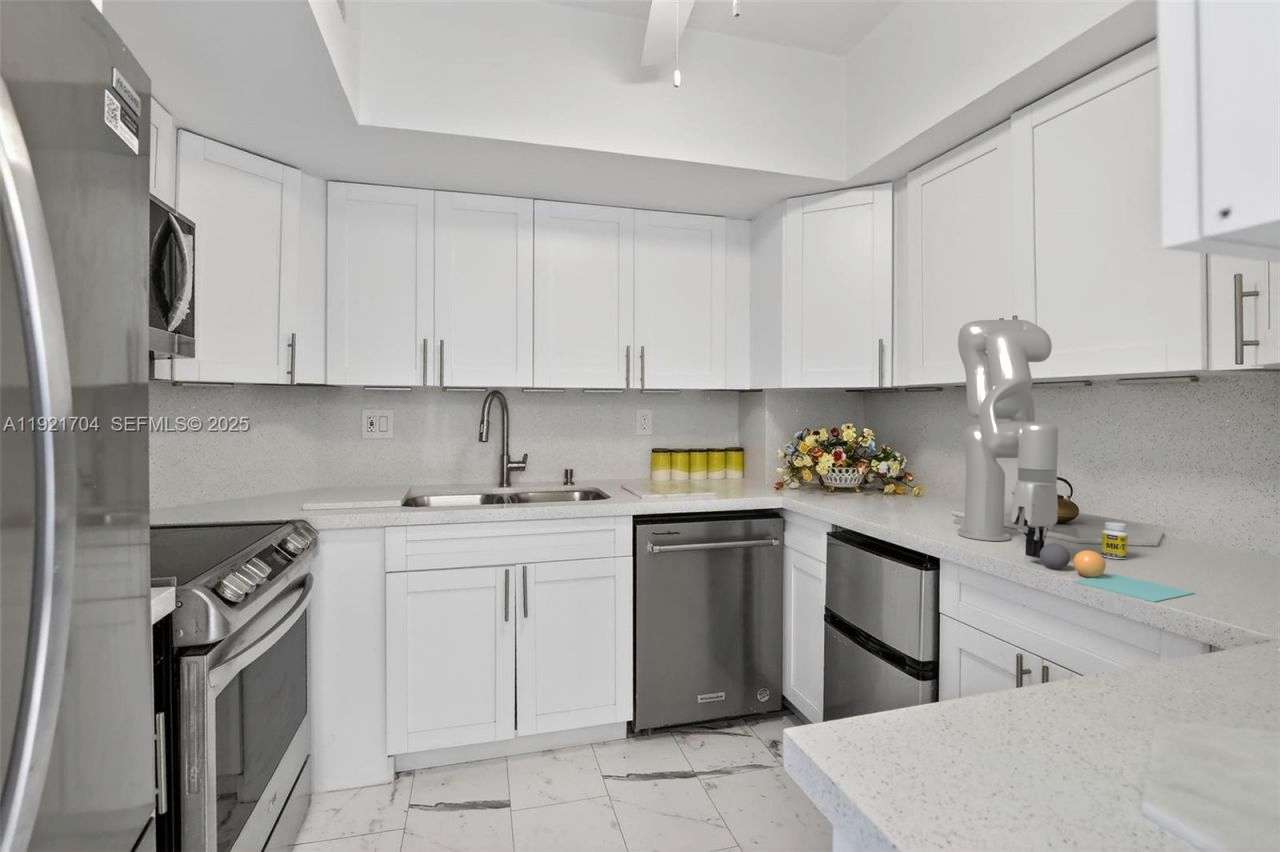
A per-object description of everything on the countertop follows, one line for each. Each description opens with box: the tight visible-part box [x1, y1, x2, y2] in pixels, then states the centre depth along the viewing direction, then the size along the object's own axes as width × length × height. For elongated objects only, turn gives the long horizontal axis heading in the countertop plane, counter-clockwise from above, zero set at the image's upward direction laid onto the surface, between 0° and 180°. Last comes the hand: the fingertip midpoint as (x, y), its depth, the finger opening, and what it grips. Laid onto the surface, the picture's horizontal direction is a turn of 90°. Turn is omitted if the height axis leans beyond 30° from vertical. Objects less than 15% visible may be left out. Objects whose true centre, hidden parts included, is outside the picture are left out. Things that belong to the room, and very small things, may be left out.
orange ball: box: [1072, 549, 1107, 578], centre depth 128 cm, size 6×6×6 cm
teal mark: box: [1073, 573, 1196, 603], centre depth 120 cm, size 14×14×1 cm
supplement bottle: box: [1100, 521, 1129, 560], centre depth 145 cm, size 5×5×8 cm
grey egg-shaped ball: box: [1039, 543, 1071, 570], centre depth 134 cm, size 6×6×6 cm
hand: (1034, 556), depth 138 cm, fingers closed
